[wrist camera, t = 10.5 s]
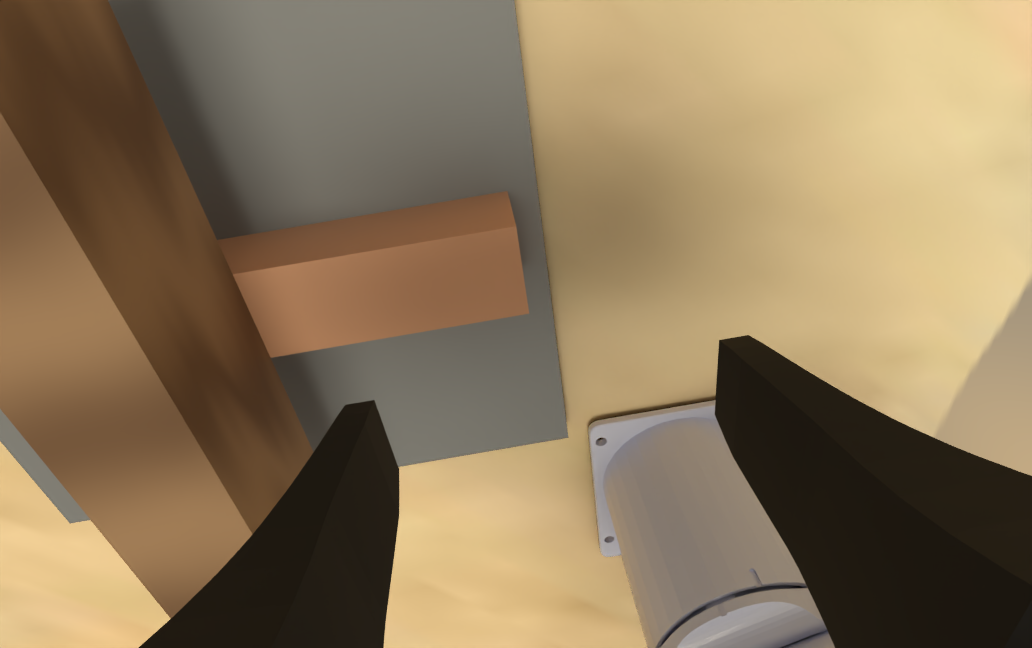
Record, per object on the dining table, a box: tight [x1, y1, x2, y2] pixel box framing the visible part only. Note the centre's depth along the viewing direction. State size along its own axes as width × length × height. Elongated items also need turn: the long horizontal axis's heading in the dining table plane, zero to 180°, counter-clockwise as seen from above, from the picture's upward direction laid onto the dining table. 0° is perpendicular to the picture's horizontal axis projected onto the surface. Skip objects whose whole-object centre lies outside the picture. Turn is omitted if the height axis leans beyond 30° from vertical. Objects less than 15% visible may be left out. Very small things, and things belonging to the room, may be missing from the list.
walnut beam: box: [0, 0, 313, 618], centre depth 16 cm, size 18×4×5 cm, turn 8°
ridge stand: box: [0, 0, 568, 523], centre depth 19 cm, size 20×22×4 cm
